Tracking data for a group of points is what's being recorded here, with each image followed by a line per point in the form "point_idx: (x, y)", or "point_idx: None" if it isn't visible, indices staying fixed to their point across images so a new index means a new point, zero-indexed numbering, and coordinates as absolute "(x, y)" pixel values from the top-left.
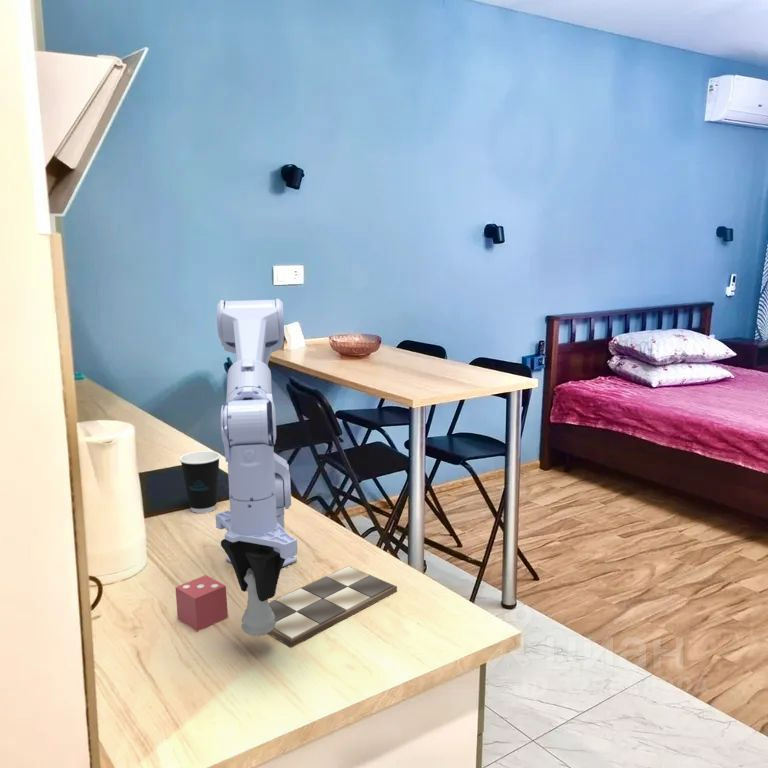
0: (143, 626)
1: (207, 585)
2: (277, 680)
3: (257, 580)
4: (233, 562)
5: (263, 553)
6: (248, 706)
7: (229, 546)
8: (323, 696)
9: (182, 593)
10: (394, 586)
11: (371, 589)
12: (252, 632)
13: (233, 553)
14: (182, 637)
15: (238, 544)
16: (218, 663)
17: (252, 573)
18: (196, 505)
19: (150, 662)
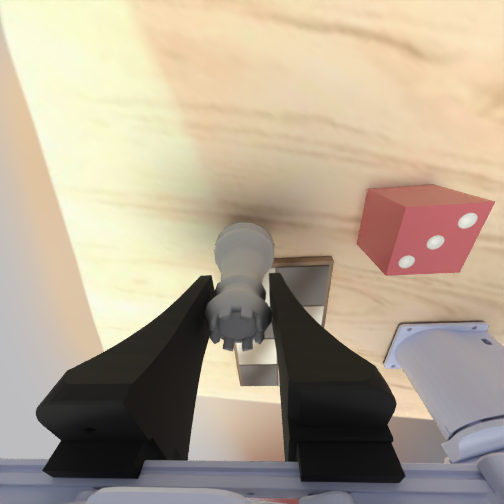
0: (483, 118)
1: (422, 253)
2: (162, 205)
3: (177, 309)
4: (297, 321)
5: (71, 431)
6: (122, 135)
7: (295, 389)
8: (97, 227)
9: (457, 202)
10: (242, 384)
11: (251, 372)
12: (226, 228)
13: (283, 357)
14: (376, 158)
15: (289, 411)
16: (258, 163)
17: (241, 320)
18: None
19: (361, 56)
